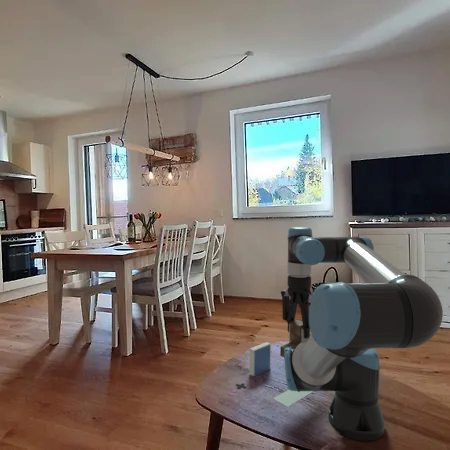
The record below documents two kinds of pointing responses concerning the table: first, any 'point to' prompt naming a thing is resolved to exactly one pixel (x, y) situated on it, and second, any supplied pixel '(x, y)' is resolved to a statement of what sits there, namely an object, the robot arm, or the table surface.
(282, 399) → the rest board
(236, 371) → the table surface
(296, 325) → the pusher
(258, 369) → the tile
